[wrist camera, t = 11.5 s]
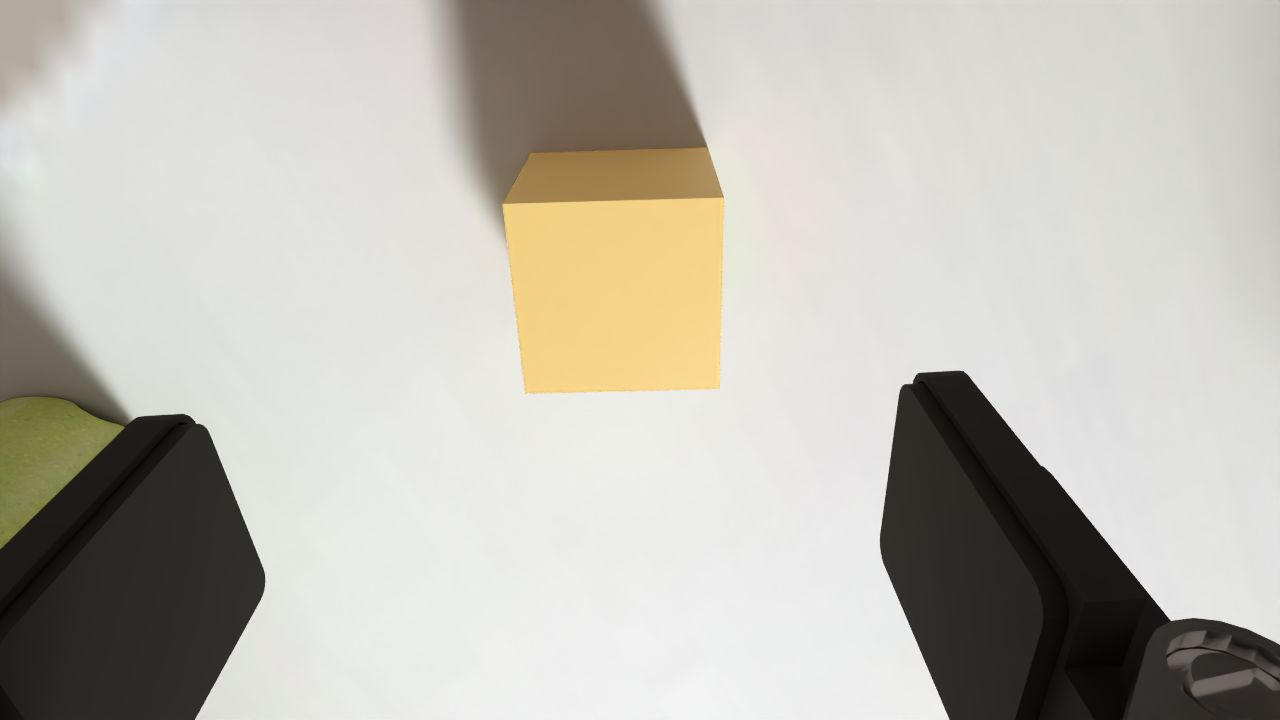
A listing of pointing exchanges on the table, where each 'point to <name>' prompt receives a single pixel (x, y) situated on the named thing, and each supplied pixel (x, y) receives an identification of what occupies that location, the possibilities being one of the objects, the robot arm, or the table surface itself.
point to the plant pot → (43, 454)
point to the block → (617, 270)
